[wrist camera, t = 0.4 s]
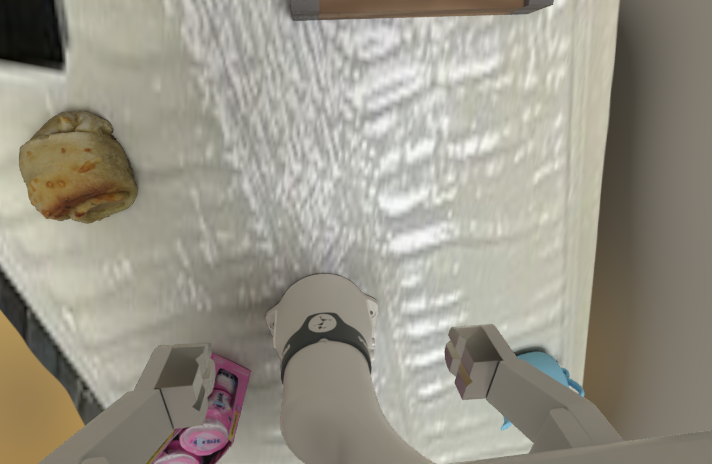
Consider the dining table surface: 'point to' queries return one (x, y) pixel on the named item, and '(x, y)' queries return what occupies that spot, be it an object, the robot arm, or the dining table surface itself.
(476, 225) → the dining table surface
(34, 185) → the pastry
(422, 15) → the track
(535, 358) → the teapot
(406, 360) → the dining table surface
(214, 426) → the gum box
